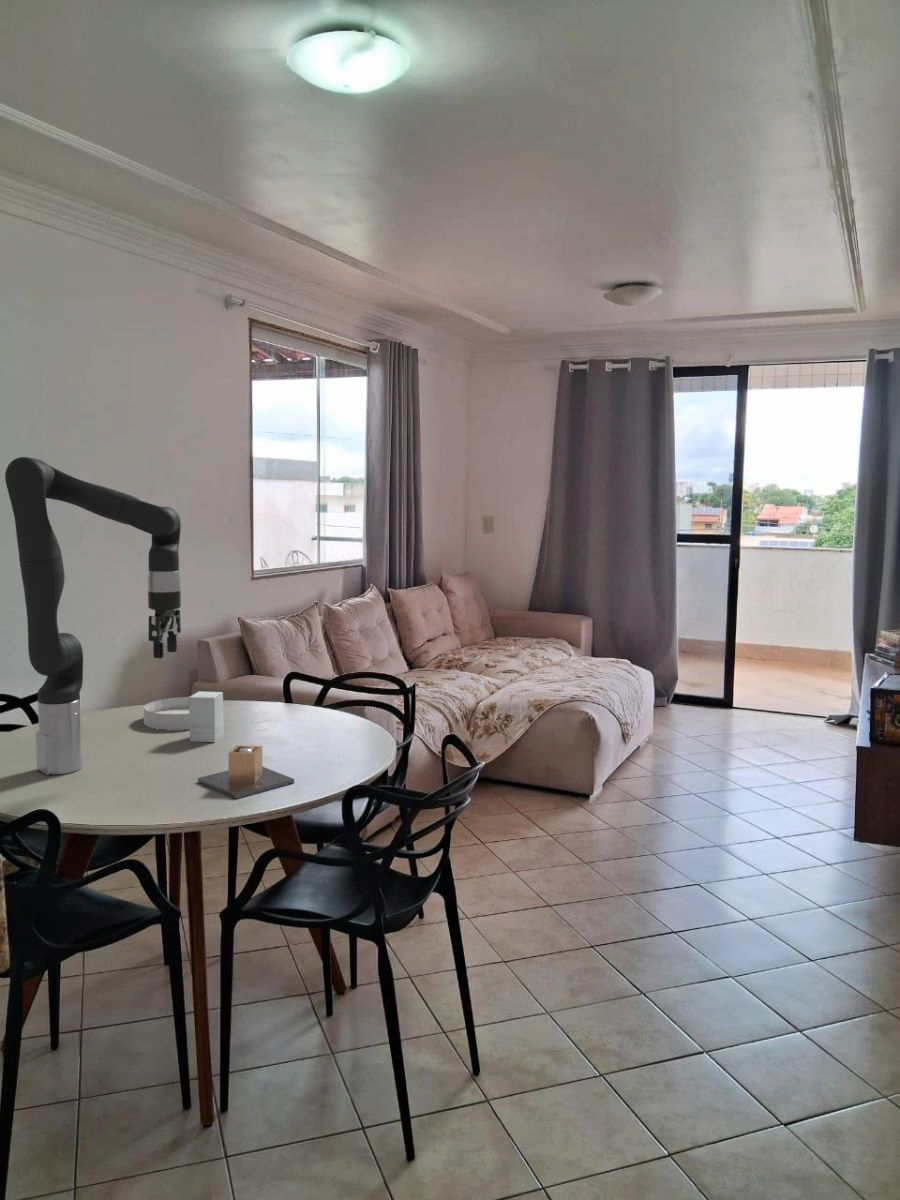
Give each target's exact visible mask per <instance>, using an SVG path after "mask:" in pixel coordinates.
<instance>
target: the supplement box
mask: <svg viewBox="0 0 900 1200" xmlns="http://www.w3.org/2000/svg"><path fill="white" fill-rule="evenodd" d="M188 697H189V718H190V730H189V741H190V742H197V743H199V742H200V743H201V742H202V743H216V742H218V741H219V740H220V739H221V738H223V737H224V736H225V730H224V729H225V727H224V726H225V724H224V693H223V691H201V690H200V691H197V692H196V693H194V694H192V695H190V696H188Z"/></svg>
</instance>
